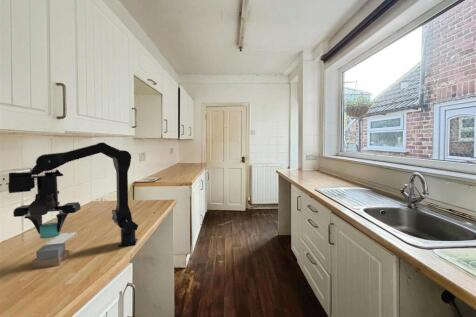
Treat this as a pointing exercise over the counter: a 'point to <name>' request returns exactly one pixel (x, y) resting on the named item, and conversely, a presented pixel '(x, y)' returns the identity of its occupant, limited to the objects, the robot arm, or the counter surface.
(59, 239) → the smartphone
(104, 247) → the counter surface
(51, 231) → the teal round block
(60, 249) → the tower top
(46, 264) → the tower base
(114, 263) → the counter surface
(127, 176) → the robot arm
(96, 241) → the counter surface
